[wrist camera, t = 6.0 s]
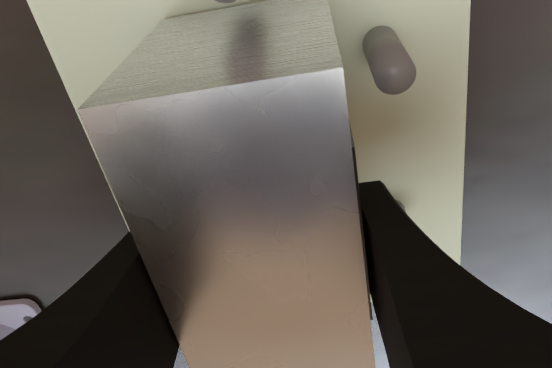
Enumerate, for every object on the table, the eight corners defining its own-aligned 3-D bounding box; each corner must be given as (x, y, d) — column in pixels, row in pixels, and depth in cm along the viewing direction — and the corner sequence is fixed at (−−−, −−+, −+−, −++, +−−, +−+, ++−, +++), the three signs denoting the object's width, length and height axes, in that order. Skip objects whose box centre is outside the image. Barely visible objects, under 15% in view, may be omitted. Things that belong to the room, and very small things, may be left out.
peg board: (452, 275, 20) (478, 346, 17) (174, 303, 21) (154, 372, 18) (464, -167, 12) (520, -178, 9) (16, -71, 13) (-64, -53, 10)
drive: (358, 249, 17) (383, 402, 12) (235, 262, 18) (210, 414, 13) (328, -11, 13) (349, 66, 8) (162, 19, 13) (77, 109, 8)
